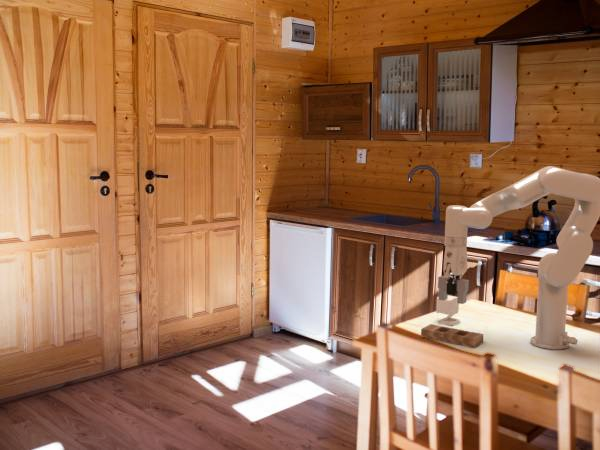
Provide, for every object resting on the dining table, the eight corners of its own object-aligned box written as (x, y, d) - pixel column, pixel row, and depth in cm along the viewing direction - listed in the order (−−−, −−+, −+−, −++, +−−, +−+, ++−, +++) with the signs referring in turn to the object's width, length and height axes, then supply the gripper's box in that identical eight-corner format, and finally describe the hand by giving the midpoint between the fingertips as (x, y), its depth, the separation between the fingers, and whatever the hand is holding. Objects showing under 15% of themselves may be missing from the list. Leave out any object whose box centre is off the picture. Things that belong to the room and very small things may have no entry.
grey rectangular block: (467, 302, 239) (468, 280, 238) (464, 304, 237) (465, 281, 236) (440, 297, 245) (442, 275, 244) (437, 299, 243) (438, 277, 242)
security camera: (443, 319, 269) (444, 294, 267) (460, 322, 264) (461, 297, 263) (435, 322, 264) (436, 297, 262) (452, 326, 259) (453, 300, 258)
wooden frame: (483, 342, 240) (483, 334, 240) (474, 348, 234) (475, 339, 234) (430, 332, 252) (430, 324, 251) (421, 337, 246) (421, 328, 245)
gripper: (456, 245, 229) (453, 299, 232) (475, 239, 242) (472, 290, 245) (435, 243, 234) (433, 296, 236) (455, 237, 247) (452, 287, 249)
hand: (453, 293), depth 241 cm, fingers closed on grey rectangular block, 3 cm apart
